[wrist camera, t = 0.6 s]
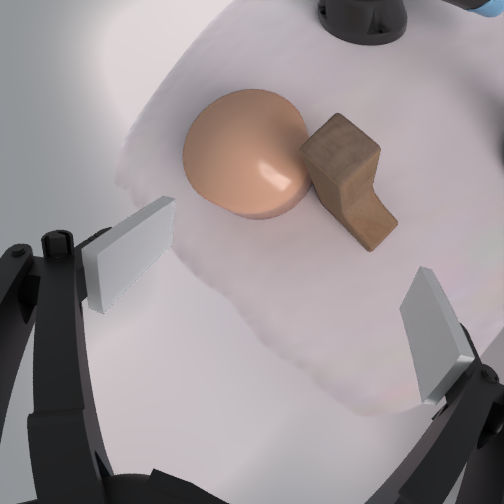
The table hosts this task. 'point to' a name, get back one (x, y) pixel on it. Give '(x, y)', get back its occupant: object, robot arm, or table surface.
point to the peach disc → (248, 154)
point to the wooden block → (348, 179)
